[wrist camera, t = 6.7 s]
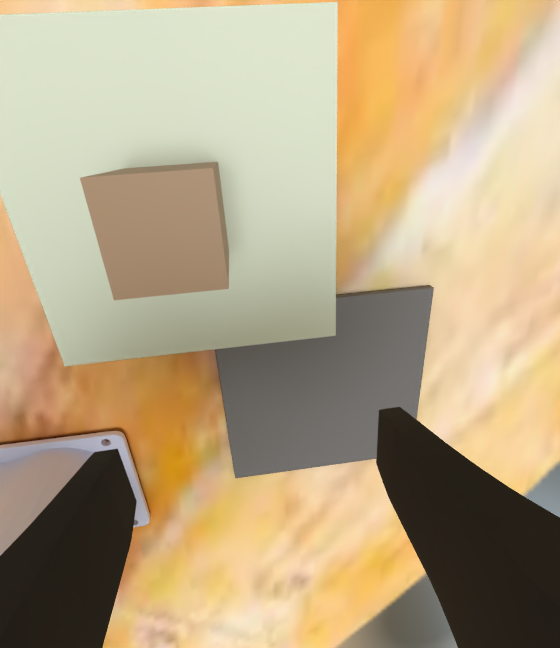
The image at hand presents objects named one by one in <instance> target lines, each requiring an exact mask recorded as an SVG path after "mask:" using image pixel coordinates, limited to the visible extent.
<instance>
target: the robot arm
mask: <svg viewBox="0 0 560 648" xmlns="http://www.w3.org/2000/svg"><path fill="white" fill-rule="evenodd" d="M104 439H108V440H110V441H106V440H104ZM376 463H377V466H378V469H379V472H380V475H381V478H382V481H383V483H384V486H385V489H386V491H387V494H388V497H389V499H390V501H391V503H392V505H393V507H394V509H395V511H396V513H397V515H398V517H399V519H400V521H401V523H402V525H403V527H404V529H405V531H406V533H407V535H408V537H409V539H410V541H411V543H412V545H413V547H414V549H415V551H416V553H417V555H418V557H419V559H420V561H421V563H422V565H423V567H424V569H425V571H426V573H427V575H428V577H429V579H430V581H431V583H432V586H433V588H434V590H435V592H436V594H437V596H438V599H439V601H440V603H441V606H442V608H443V611H444V613H445V616H446V618H447V621H448V623H449V626H450V628H451V631H452V633H453V636H454V638H455V641H456V643H457V646H458V648H560V518H559V517H558V516H556V515H554V514H552V513H551V512H549V511H547V510H546V509H544V508H542V507H540V506H539V505H537V504H535V503H534V502H532V501H530V500H529V499H527V498H525V497H524V496H522V495H520V494H519V493H517V492H516V491H514V490H512V489H511V488H509V487H508V486H506V485H505V484H503V483H502V482H500V481H499V480H497V479H496V478H494V477H493V476H491V475H490V474H488V473H487V472H485V471H484V470H482V469H481V468H480V467H478V466H477V465H475V464H474V463H472V462H471V461H470V460H468V459H467V458H465V457H464V456H463V455H461V454H460V453H459V452H457V451H456V450H455V449H453V448H452V447H451V446H449V445H448V444H447V443H445V442H444V441H443V440H441V439H440V438H439V437H438V436H436V435H435V434H434V433H433V432H431V431H430V430H429V429H427V428H426V427H425V426H424V425H422V424H421V423H420V422H419V421H417V420H416V419H415V418H414V417H412V416H411V415H410V414H409V413H407V412H406V411H405V410H403V409H402V408H401V407H394V408H387V409H381V410H379V418H378V439H377V461H376ZM149 522H150V513H149V510H148V507H147V503H146V500H145V497H144V494H143V491H142V488H141V484H140V481H139V478H138V475H137V472H136V469H135V466H134V462H133V459H132V456H131V453H130V450H129V447H128V443H127V440H126V437H125V435H124V434H123V433H122V432H120V431H108V432H100V433H92V434H84V435H76V436H68V437H60V438H53V439H45V440H37V441H29V442H21V443H13V444H5V445H0V648H102V647H103V643H104V639H105V635H106V632H107V628H108V624H109V621H110V617H111V613H112V610H113V606H114V603H115V599H116V595H117V592H118V588H119V584H120V581H121V577H122V573H123V569H124V566H125V562H126V558H127V554H128V551H129V547H130V543H131V538H132V531H133V527H139V526H144V525H147V524H148V523H149Z"/></svg>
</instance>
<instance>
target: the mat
mask: <svg viewBox="0 0 560 648" xmlns="http://www.w3.org/2000/svg"><path fill="white" fill-rule="evenodd" d="M433 289H434V288H433V287H432V286H430V285H429V286H419V287H410V288H400V289H390V290H380V291H370V292H360V293H350V294H340V295H336V336H328V337H320V338H311V339H302V340H293V341H284V342H275V343H267V344H258V345H249V346H240V347H231V348H222V349H215V351H216V357H217V364H218V370H219V376H220V383H221V389H222V396H223V402H224V408H225V415H226V421H227V428H228V434H229V440H230V447H231V453H232V460H233V466H234V472H235V478H241V477H248V476H255V475H263V474H270V473H277V472H284V471H291V470H298V469H305V468H312V467H320V466H327V465H334V464H341V463H348V462H355V461H362V460H369V459H377V439H378V418H379V410H381V409H387V408H394V407H401V408H402V409H403V410H405V411H406V412H407V413H409V414H410V415H411V416H412V417H414V418H415V419H416V418H417V411H418V403H419V395H420V388H421V380H422V373H423V365H424V357H425V350H426V342H427V334H428V327H429V319H430V312H431V304H432V296H433Z"/></svg>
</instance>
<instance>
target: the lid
mask: <svg viewBox="0 0 560 648" xmlns="http://www.w3.org/2000/svg"><path fill="white" fill-rule="evenodd" d="M337 4H338V2H328V3H301V4H274V5H247V6H221V7H194V8H167V9H140V10H114V11H87V12H60V13H33V14H7V15H0V195H1V197H2V200H3V203H4V205H5V208H6V211H7V213H8V216H9V219H10V221H11V224H12V227H13V229H14V232H15V235H16V237H17V240H18V243H19V245H20V248H21V251H22V253H23V256H24V259H25V261H26V264H27V267H28V270H29V272H30V275H31V278H32V280H33V283H34V286H35V288H36V291H37V294H38V296H39V299H40V302H41V304H42V307H43V310H44V312H45V315H46V318H47V320H48V323H49V326H50V328H51V331H52V334H53V336H54V339H55V342H56V344H57V347H58V350H59V352H60V355H61V358H62V360H63V363H64V366H72V365H81V364H90V363H99V362H107V361H116V360H125V359H134V358H143V357H152V356H160V355H169V354H178V353H187V352H196V351H205V350H214V349H222V348H231V347H240V346H249V345H258V344H267V343H275V342H284V341H293V340H302V339H311V338H320V337H328V336H336V191H337Z"/></svg>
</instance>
